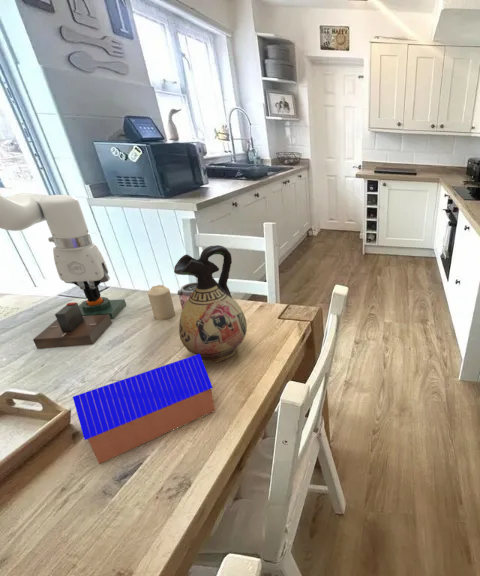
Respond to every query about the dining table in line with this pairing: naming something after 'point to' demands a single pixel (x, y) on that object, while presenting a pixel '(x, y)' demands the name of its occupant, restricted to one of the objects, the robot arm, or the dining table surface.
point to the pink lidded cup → (186, 293)
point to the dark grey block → (69, 317)
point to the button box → (103, 308)
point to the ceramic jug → (210, 309)
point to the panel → (73, 333)
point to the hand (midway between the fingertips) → (94, 299)
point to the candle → (161, 302)
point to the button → (95, 301)
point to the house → (144, 406)
